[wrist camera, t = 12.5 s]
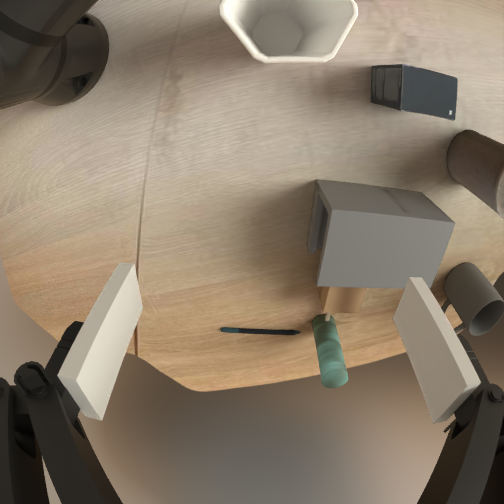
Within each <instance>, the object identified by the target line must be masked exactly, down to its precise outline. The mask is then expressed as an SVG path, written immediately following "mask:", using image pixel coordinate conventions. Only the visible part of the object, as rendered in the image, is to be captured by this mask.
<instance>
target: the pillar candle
mask: <svg viewBox="0 0 504 504" xmlns="http://www.w3.org/2000/svg"><path fill="white" fill-rule="evenodd" d="M447 165H448V169H449V172H450V174H451V176H452V177H453V178H454V179H455V180H456V181H457V182H458V183H460V184H461V185H462V186H464V187H465V188H466V189H468V190H469V191H470V192H471V193H473V194H474V195H475V196H477V197H478V198H479V199H481V200H482V201H483V202H485V203H486V204H487V205H488V206H490V207H491V208H492V209H493V210H494V211H496V212H497V213H498V214H499V215H500V216H501V217H502V218H504V144H502V143H499V142H497V141H495V140H493V139H491V138H489V137H487V136H484V135H481V134H479V133H478V132H476V131H473V130H465V131H463V132H462V133H459V134H458V135H457V136H456V137H455V138H454V139H453V141H452V142H451V145H450V146H449V149H448V154H447Z"/></svg>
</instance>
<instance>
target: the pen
mask: <svg viewBox="0 0 504 504" xmlns="http://www.w3.org/2000/svg"><path fill="white" fill-rule="evenodd" d="M221 332H229V333H247V334H272V335H295V334H299V333H300V332H298V331H294V330H268V329H245V328H227V327H223V328H221Z"/></svg>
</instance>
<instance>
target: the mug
mask: <svg viewBox="0 0 504 504" xmlns="http://www.w3.org/2000/svg"><path fill="white" fill-rule="evenodd" d="M444 291H445V294H446V296H447V297H448V299H447V300H446V301H445V302H444V304H443V306H442V308H441V309H442V311H443V312H444V314H445V311H446V309H447V307H448V306H449V305H450V304H452V306H453V307H454V309H455V311H456V312H457V314H458V315H459V317H460V319H461V320H462V322H463V323H462V324H460V325H459V326H458V327H456V328H455V329H454V331H455V333H458V332H459V331H461V330H462V329H464V328H465V327H466V328H467V330H468V331H469V332H470V333H471V334H472V335H475V336H477V335H481V334H484V333H486V332H487V331H489V330H490V329H491V328H492V327H494V326H495V325H496V324H497V323H498V321H499V320H500V319H501V317H502V315H503V313H504V301H503V299H502V298H501V296H500V295H499V294H498V293H497V291H496V289H495V288H494V287H493V286H492V284H491V283H490V282H489V281H488V279H487V278H486V277H485V276H484V275H483V273H482V272H481V271H480V270H479V269H478V268H477V267H476V266H475V265H474V264H472V263H463V264H460V265H458V266H457V267H455V268H454V269H453V270H452V271H451V272H450V274H449V275H448V276H447V278H446V280H445V284H444Z"/></svg>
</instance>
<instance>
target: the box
mask: <svg viewBox="0 0 504 504" xmlns="http://www.w3.org/2000/svg"><path fill="white" fill-rule="evenodd" d="M456 101H457V78H455V77H452V76H449V75H445V74H441V73H438V72H434V71H430V70H426V69H422V68H418V67H414V66H409V65H405V64H396V65H378V66H372V80H371V102H372V103H375V104H380V105H383V106H387V107H390V108H394V109H397V110H400V111H406V112H414V113H420V114H426V115H431V116H436V117H440V118H445V119H449V120H453V121H454V120H455V113H456Z"/></svg>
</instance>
